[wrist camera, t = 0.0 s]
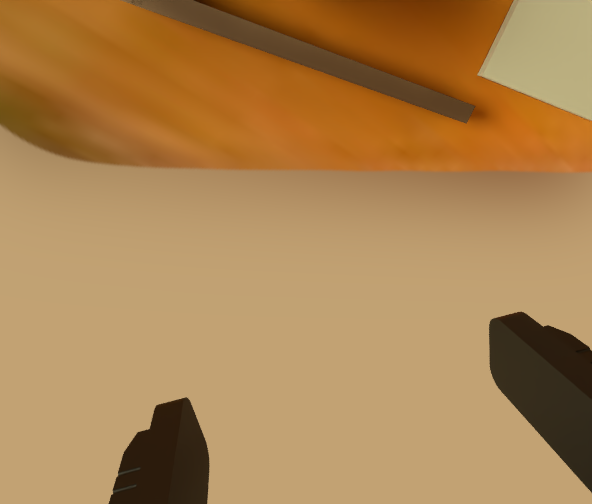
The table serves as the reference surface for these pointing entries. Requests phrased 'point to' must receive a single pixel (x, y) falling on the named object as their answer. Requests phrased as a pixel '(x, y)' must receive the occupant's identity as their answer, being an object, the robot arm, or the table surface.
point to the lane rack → (306, 55)
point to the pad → (546, 53)
